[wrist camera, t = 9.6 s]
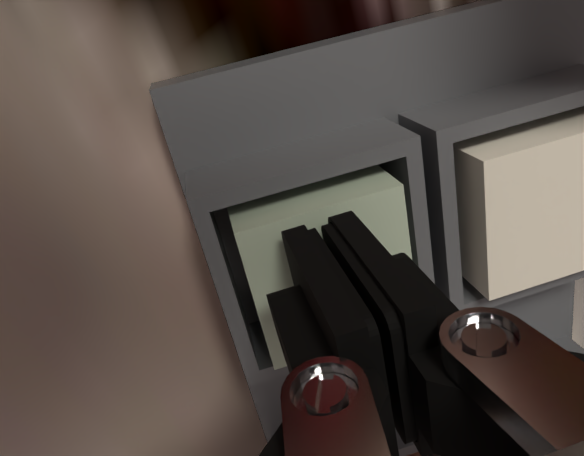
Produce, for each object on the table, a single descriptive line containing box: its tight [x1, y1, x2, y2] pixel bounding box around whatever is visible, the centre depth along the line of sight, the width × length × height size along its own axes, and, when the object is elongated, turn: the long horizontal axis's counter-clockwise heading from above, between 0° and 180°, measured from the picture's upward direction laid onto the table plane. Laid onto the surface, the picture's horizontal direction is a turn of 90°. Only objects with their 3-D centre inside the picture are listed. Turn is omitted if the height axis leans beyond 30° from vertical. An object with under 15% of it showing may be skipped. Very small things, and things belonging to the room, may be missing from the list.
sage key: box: [227, 165, 412, 370], centre depth 13 cm, size 4×4×2 cm
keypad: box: [149, 0, 584, 456], centre depth 16 cm, size 20×12×3 cm, turn 12°
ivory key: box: [453, 106, 584, 301], centre depth 14 cm, size 4×4×2 cm
